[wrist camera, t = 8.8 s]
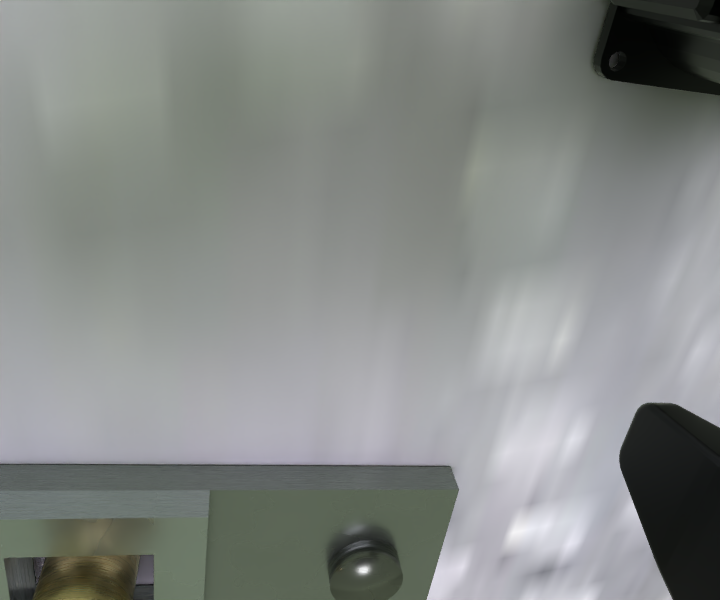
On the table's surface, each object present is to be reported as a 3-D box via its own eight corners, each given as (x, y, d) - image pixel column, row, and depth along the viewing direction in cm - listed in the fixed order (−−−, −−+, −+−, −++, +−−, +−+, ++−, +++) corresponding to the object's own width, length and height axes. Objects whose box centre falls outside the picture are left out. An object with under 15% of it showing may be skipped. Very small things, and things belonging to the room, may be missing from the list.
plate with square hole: (450, 466, 25) (475, 532, 22) (411, 602, 29) (429, 673, 26) (-360, 463, 20) (-458, 548, 17) (-279, 630, 24) (-348, 722, 21)
